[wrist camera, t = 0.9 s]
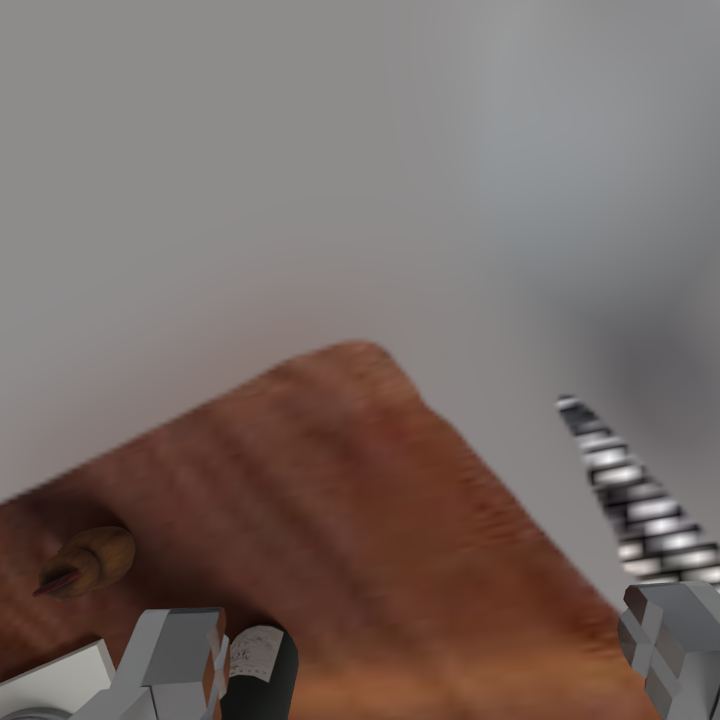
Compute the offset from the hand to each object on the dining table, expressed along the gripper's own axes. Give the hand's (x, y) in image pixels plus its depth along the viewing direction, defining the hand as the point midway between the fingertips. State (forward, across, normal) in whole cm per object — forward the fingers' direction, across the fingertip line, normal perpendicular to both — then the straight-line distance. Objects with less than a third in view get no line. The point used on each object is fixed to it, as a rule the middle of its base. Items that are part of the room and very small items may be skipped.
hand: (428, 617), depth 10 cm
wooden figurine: (+41, -27, -32) cm, 59 cm away
